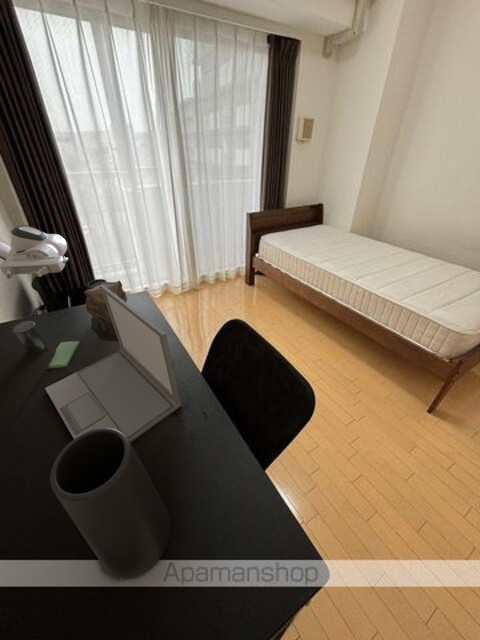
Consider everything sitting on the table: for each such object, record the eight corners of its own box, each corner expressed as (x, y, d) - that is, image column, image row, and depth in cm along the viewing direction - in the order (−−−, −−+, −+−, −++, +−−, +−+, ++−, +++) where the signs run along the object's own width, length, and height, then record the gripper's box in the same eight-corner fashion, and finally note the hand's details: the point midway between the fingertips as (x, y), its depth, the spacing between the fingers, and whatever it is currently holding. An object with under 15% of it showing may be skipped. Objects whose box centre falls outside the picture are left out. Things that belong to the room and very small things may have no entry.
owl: (94, 340, 108) (76, 295, 96) (110, 321, 118) (95, 277, 106) (126, 342, 107) (111, 296, 95) (139, 322, 117) (127, 279, 105)
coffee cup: (92, 318, 120) (80, 287, 111) (104, 307, 126) (94, 277, 118) (110, 320, 118) (99, 289, 109) (121, 310, 125) (112, 279, 116)
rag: (45, 368, 96) (44, 366, 95) (61, 343, 106) (60, 342, 106) (66, 367, 96) (65, 365, 96) (80, 342, 107) (79, 340, 106)
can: (25, 359, 100) (8, 333, 93) (34, 347, 105) (18, 321, 98) (44, 358, 100) (29, 331, 93) (52, 346, 105) (38, 320, 98)
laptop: (46, 391, 88) (2, 319, 72) (125, 350, 103) (103, 284, 87) (92, 470, 68) (45, 396, 52) (182, 405, 83) (166, 332, 67)
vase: (183, 514, 60) (159, 436, 43) (141, 595, 50) (88, 534, 33) (133, 487, 65) (93, 407, 48) (84, 556, 54) (12, 486, 38)
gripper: (72, 264, 111) (57, 282, 100) (18, 267, 110) (-4, 285, 99) (66, 249, 107) (50, 266, 96) (9, 251, 106) (-14, 269, 95)
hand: (22, 276), depth 97 cm, fingers open, 8 cm apart
